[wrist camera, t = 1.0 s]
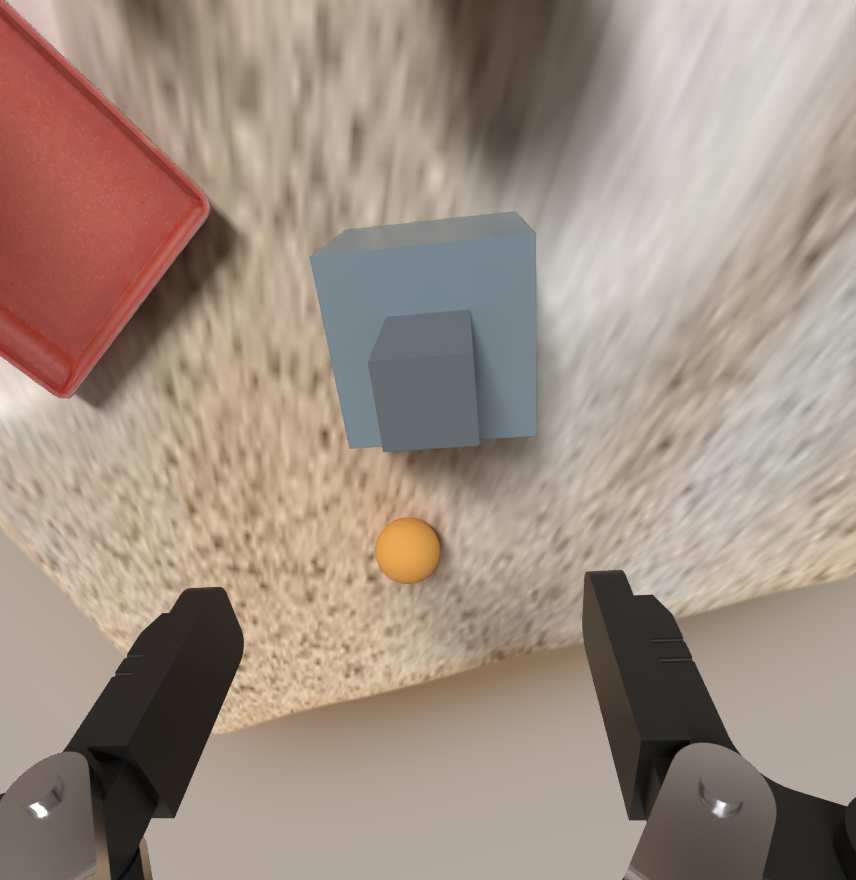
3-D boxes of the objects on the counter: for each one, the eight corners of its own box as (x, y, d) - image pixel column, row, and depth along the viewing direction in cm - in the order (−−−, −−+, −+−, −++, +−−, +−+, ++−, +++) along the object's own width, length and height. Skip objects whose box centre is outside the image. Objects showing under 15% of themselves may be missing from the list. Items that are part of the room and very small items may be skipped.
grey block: (515, 211, 30) (559, 257, 18) (519, 373, 35) (555, 502, 22) (345, 230, 31) (268, 286, 18) (372, 385, 36) (325, 515, 23)
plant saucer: (93, 387, 38) (63, 406, 35) (-170, 188, 32) (-231, 192, 29) (239, 199, 31) (216, 205, 28) (-59, -94, 25) (-126, -125, 23)
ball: (437, 503, 41) (435, 545, 37) (443, 551, 43) (442, 596, 39) (375, 506, 41) (365, 548, 37) (384, 554, 44) (376, 599, 39)
